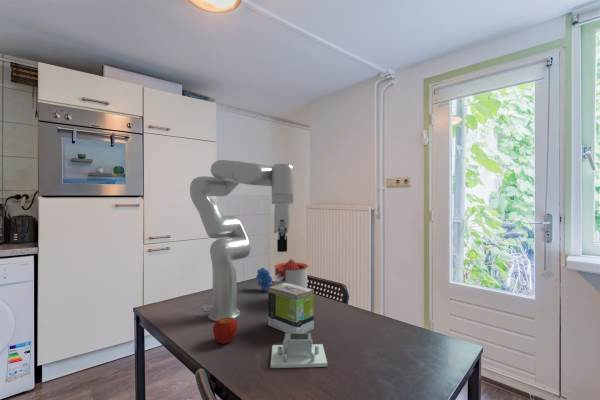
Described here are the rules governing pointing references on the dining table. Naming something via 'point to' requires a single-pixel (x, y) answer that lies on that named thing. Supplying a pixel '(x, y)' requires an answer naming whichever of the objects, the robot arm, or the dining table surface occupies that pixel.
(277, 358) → the white peg board
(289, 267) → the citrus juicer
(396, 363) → the dining table surface
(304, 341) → the block
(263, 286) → the grapes
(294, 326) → the tea box
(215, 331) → the apple
